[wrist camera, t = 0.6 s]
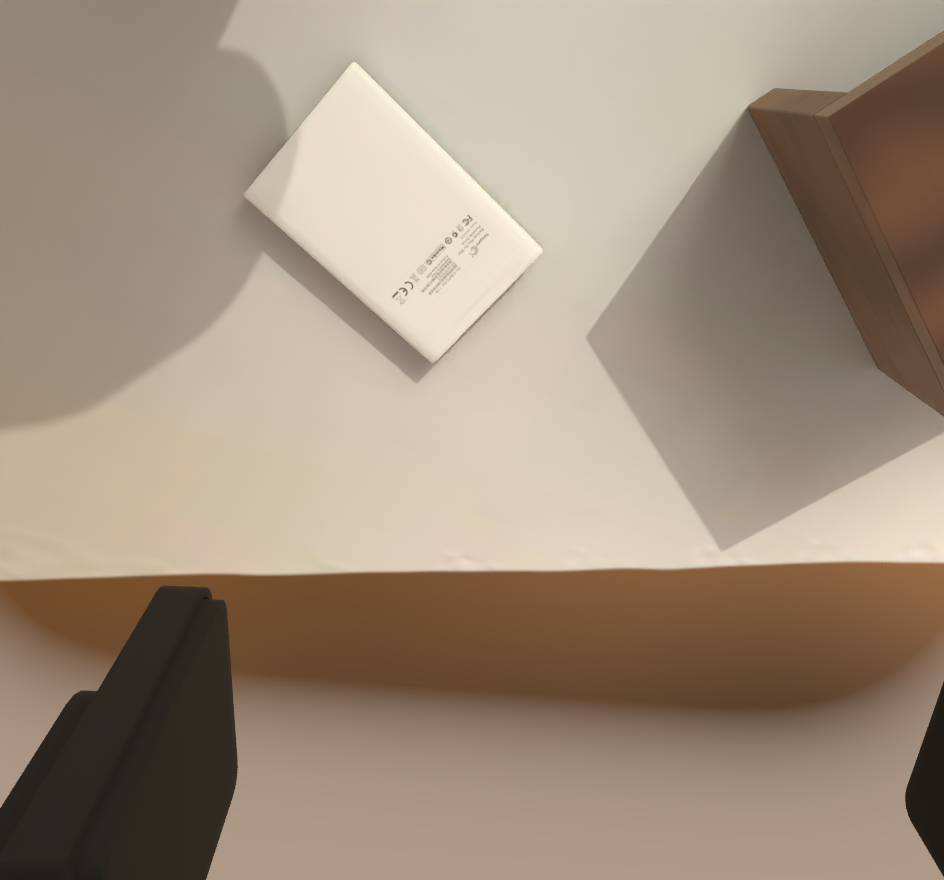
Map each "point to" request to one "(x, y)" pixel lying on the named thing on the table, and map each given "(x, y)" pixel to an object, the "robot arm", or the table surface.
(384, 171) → the hard drive
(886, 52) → the table surface
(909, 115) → the dark wooden box
